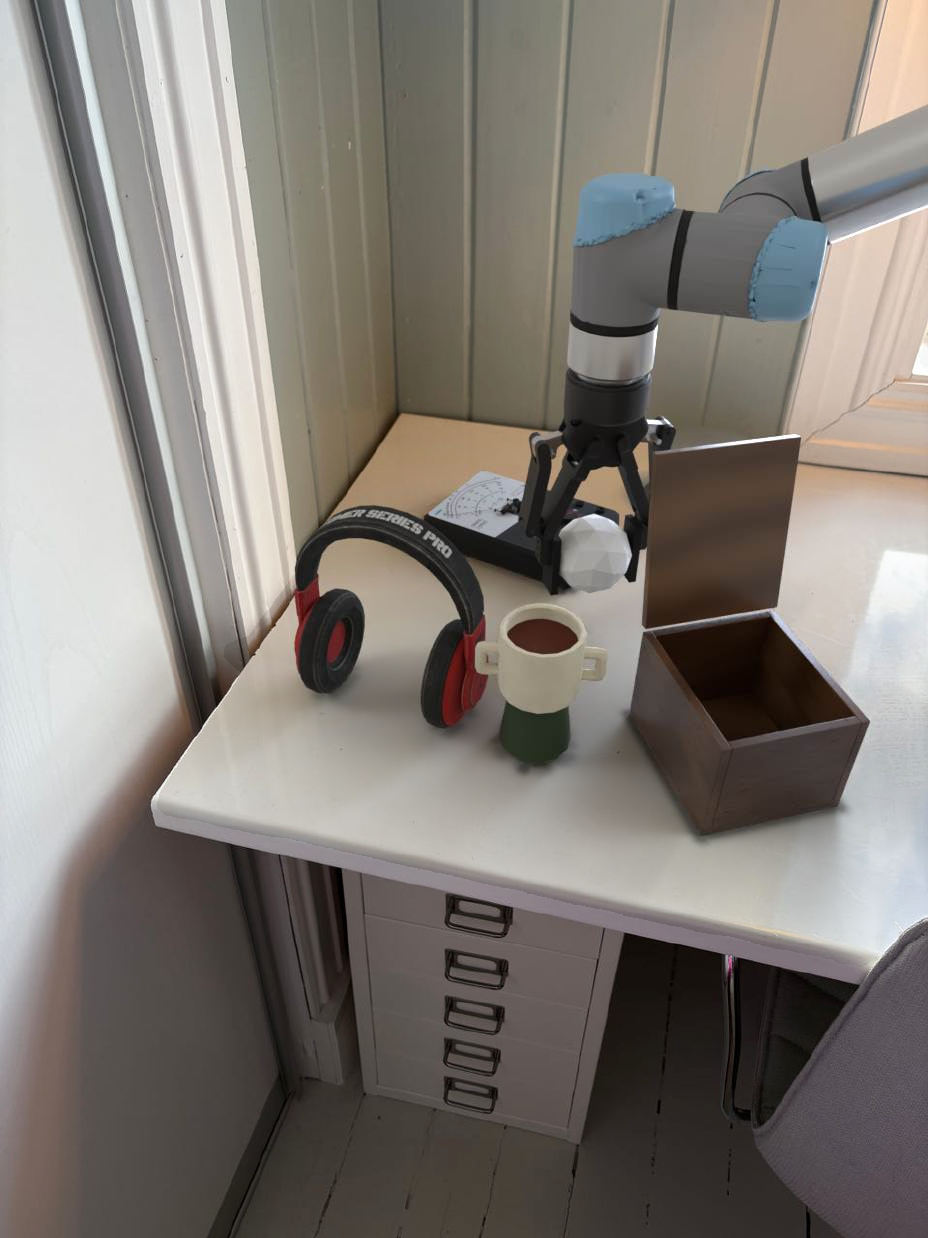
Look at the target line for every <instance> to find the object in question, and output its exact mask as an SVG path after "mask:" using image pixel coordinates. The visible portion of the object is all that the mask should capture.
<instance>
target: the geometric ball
mask: <svg viewBox="0 0 928 1238" xmlns="http://www.w3.org/2000/svg"><path fill="white" fill-rule="evenodd" d="M559 537H560V538H561V540H562V544H561V558H560V572H559V575H560V576H561V577H562V578H563V579H564V580H565V581H566V582H567V583H568V584H569V585H570V586H572V587H571V588H575V589H577V590H579V591H583V592H585V593H588V594H591V593H596V592H601V591H605V590H609V589H611V588H612V587H613V586H614V585H615V584H616V583H618V582H619V580H620V579H621V578H622V577H624V574H625V573H626V571H627V568H628V565H629V563H630V560H631V557H632V553H631V549H630V545H629V541H628V537H627V533H626V532H625V531H624V530H623V529H622V528H621V526H620V525H619V526H618V525H617V524H616V523H615V522H614V521H612V520H610V519H608V518H605V517H602V516H599V515H596V514H591V515H588V516H584V517H581V518H577V519H573V520H572V521H571V522H570V523H569V524H568V525H566V526H565V527H564V528H563V529H562V530H561V531H560V533H559Z"/></svg>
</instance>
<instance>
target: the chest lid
mask: <svg viewBox="0 0 928 1238" xmlns="http://www.w3.org/2000/svg"><path fill="white" fill-rule="evenodd" d="M801 443H802V436H800V435H798V434H796V433H795V434H787V435H778V436H771V437H762V438H755V439H753V438H752V439H746V440H738V441H730V442H729V441H728V442H721V443H714V444H706V445H697V446H690V447H681V448H680V447H679V448H673V449H672V448H671V449H670V450H664V451H656V452H653V458H652V473H651V489H650V488H649V501H650V504H649V520H648V535H647V547H646V555H645V565H644V583H643V584H644V585H643V599H642V612H641V613H642V616H641V626H642V627H643V628H644V629H645V630H648V629H655V628H662V627H667V626H673V625H679V624H685V623H692V622H697V621H703V620H709V619H715V618H721V617H727V616H734V615H739V614H745V613H746V614H747V613H751V612H757V611H763V610H769V609H776V608H778V604H779V597H780V591H781V583H782V576H783V569H784V562H785V555H786V550H787V549H786V547H787V542H788V541H787V540H788V534H789V528H790V519H791V512H792V506H793V498H794V493H795V492H794V491H795V484H796V477H797V471H798V464H799V457H800V449H801Z"/></svg>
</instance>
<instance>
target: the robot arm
mask: <svg viewBox="0 0 928 1238" xmlns="http://www.w3.org/2000/svg"><path fill="white" fill-rule="evenodd" d="M676 204H677V202H676V200H675V187H674V184H672V183H671V182H670V181H669V180H668V179H666V178H664V177H661V176H658V175H657V176H656V175H648V174H646V173H638V172H619V173H609V174H608V173H607V174H603V175H598V176H596V177H594V178H592V179H590V180H589V181H587V183H586V184H585V185H584V186H583V187H582V188H581V191H580V193H579V200H578V208H577V217H576V225H575V232H574V237H573V238H572V245H573V251H572V253H573V255H572V277H571V298H570V299H571V300H570V310H569V311H570V312H569V323H568V338H567V351H566V352H567V353H566V354H567V355H566V364H567V366H568V369H566V371H565V379H564V397H563V418H562V419H561V423H560V424H559V426H558V428H557V430H556V431H553V432H549V433H546V434H543V435H542V434H541V433H540V432H538V431H533V432H532V433H530V435H529V436H528V443H529V450H530V455H531V456H530V460H529V465H528V470H527V475H526V480H525V483H526V484H525V488H524V493H523V498H522V503H521V507H520V512H519V517H518V523H519V525H520V526H521V528H522V530H523V531H524V533H525V535H526V536H527V537H529V538H532V537H534V536H536V550H535V555H536V557H537V559H538V561H539V563H540V564H541V566H543V576H542V581H543V582H542V583H543V586H545V588H546V590H547V592H548V594H549V595H550V596H558V595H559V588H558V586H559V572H560V558H561V544H562V540H561V538H560V537H559V535H558V534H557V530H558V528H559V526H560V524H561V522H562V520H563V518H564V516H565V514H566V512H567V510H568V508H569V506H570V504H571V502H572V500H573V498H575V496H576V495H577V493H578V490H579V488H580V486H581V484H582V483H583V482H585V481H586V480H587V478H588V476H589V475H590V474H591V473H590V472H591V471H596V470H598V469H602V468H617V470H618V472H619V475H620V478H621V482H622V484H623V486H624V489H625V492H626V496H627V498H628V501H629V503H630V507H631V510H632V512H633V513H634V515H633V513H630V514H625V515H624V522H623V529H622V530H624V531H625V532H626V533H627V537H628V541H629V545H630V549H631V553H632V557H631V560H630V563H629V565H628V568H627V571H626V573H625V574H624V575H623V577H624V579H626V581H627V582H628V583H629V584H630V583H631V584H632V583H636V582H637V576H638V567H639V560H640V553H641V551H644V550H647V535H648V520H649V504H650V500H649V499H648V496H647V493H646V491H645V487H644V484H643V481H642V479H641V476H640V473H639V466H638V462H637V459H636V457H635V454H634V450H635V449H636V448H637V447H638V446H639V444H640V443H641V442H642V441H643V439H644V438H645V439H646V440H647V455H648V456H647V457H648V458H647V459H648V483H649V484H648V485H649V486H648V487H649V490H650V489H651V473H652V458H653V452H656V451H664V450H672V446H673V443H674V440H675V437H676V434H677V430H676V428H675V427H674V426H673V424H672V423H671V422H669V420H668V419H666V418H665V417H664V416H663V415H658V416H656V417H655V418H654V419H647V415H646V414H647V412H648V409H649V402H650V394H651V386H652V375H651V373H650V372H651V371H652V370H653V369H654V363H655V353H656V345H657V336H658V327H659V320H660V311H661V309H665V310H671V311H680V312H688V313H689V312H690V313H696V314H706V315H713V316H714V315H715V316H720V317H721V316H722V317H728V318H729V317H730V318H739V319H746V320H754V321H755V322H758V323H766V322H784V323H785V322H786V323H787V322H788V323H789V322H790V323H791V322H792V323H793V322H794V323H796V322H797V323H798V322H801V321H804V320H805V319H807V318H808V317H809V315H811V312H812V310H813V307H814V303H815V300H816V297H817V292H818V287H819V283H820V278H821V274H822V269H823V266H824V260H825V255H826V251H827V250H826V249H827V246H828V247H829V246H830V245H832V244H834V243H837V242H839V241H842V240H845V239H847V238H850V237H853V236H855V235H858V234H861V233H864V232H865V231H869V230H871V229H873V228H876V227H879V226H882V225H884V224H887V223H889V222H892V221H895V220H897V219H900V218H903V217H905V216H909V215H911V214H913V213H917V212H918V211H922V210H924V209H927V208H928V104H925V105H922V106H920V107H918V108H916V109H913V110H911V111H909V112H906V113H904V114H902V115H899V116H898V117H895V118H892V119H890V120H888V121H886V122H884V123H881V124H879V125H876V126H875V127H872V128H870V129H867V130H865V131H862V132H861V133H858V134H856V135H853V136H851V137H849V138H847V139H845V140H844V139H843V140H842V141H840V142H838V143H835V144H833V145H831V146H828V147H826V148H824V149H822V150H819V151H816V152H815V153H812V154H810V155H808V156H807V157H805V158H802V159H799V160H797V161H794V162H792V163H789V164H787V165H785V166H782V167H779V168H777V169H776V168H763V169H760V170H759V169H758V170H756V171H753V172H751V173H749V174H747V175H745V176H744V177H743V178H741V179H740V180H739V181H737V182H736V183H735V185H734V186H732V188H731V189H729V190H728V191H727V193H726V194H725V195H724V198H723V199H722V201H721V204H720V206H719V208H718V211H717V212H708V211H695V210H687V209H686V208H677V207H676ZM560 446H563V447H565V448H566V451H565V454H564V456H563V457H562V461H561V468H560V469H559V472H558V474H557V477H556V479H555V480H554V482H553V484H552V486H551V489H550V493H549V495H548V497H547V499H546V501H545V496H546V492H547V490H548V487H549V484H550V483H549V482H550V478H551V473H552V467H553V461H552V460H555V459H556V458H557V454H558V453H557V452H558V449H559V447H560ZM544 501H545V503H544Z"/></svg>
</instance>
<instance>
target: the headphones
mask: <svg viewBox="0 0 928 1238" xmlns="http://www.w3.org/2000/svg"><path fill="white" fill-rule="evenodd" d="M348 539H361V540H368V541H375V542H378V543H381V544H385V545H387V546H390V547H392V548H394V549H395V550H399V551H401V552H402V553H404V554H406V555H407V556H409V557H411V558H412V559H414V560H415V561H416V562H418V563H419V564H420V565H422V566H423V567H424V568H426V569H427V570H428V571H429V572H430V573H431V574H432V575H433V576H434V578H436V579H437V581H439V583H440V584H441V585H442V586H443V588H444V589H445V590H446V591H447V593H448V595H449V596H450V598H451V600H452V602H453V604H454V606H455V608H456V611H457V614H458V616H459V618H455V619H453V620H451V621H449V622H448V623H446V624H445V625H444V626H443V627H442V629H441V630H440V631H439V633H438V635H437V636H436V638H435V640H434V642H433V644H432V646H431V649H430V651H429V655H428V657H427V660H426V663H425V667H424V670H423V675H422V681H421V688H420V700H419V701H420V702H419V703H420V711H421V713H422V717H423V718H424V720H425V722H426V723H427V724H429V725H430V726H432V727H435V728H436V729H443V730H444V729H447V728H451V727H452V726H453V725H455V724H457V723H459V722H460V721H461V720H462V719H463V718H464V717H465V715H466V714H467V712H468V711H470V710H473V709H474V708H475V707H476V706H477V704H478V703H479V702H480V701H481V699H482V697H483V694H484V693H485V690H486V687H487V683H488V680H489V675H486V674H480V673H478V672H477V671H476V668H475V647H476V645H477V643H479V642H482V641H486V634H487V633H486V632H487V631H486V629H487V627H486V626H487V622H486V614H484V612H485V602H484V601H485V600H484V593H483V590H482V588H481V584H480V582H479V579H478V577H477V576H476V573H475V571H474V569H473V568H472V566H471V564H470V563H469V562H468V560H467V558H466V556H464V554H462V553H461V552H460V551H459V550H458V549H457V548H456V546H455V545H454V544H453V543H452V542H451V541H450V540H449V539H448V538H447V537H446V536H444V535H443V534H442V533H441V532H440V531H439V530H437V529H436V528H434V527H433V526H431V525H430V524H429V523H427V522H426V521H424V519H422V518H420V517H418V516H416V515H414V514H412V513H409V512H408V511H403V510H399V509H397V508H393V507H389V506H382V505H375V504H370V505H357V506H354V507H350V508H346V509H343V510H341V511H339V512H337V513H335V514H333V515H332V516H330V517H329V518H328V519H327V520H326V521H325V522H324V523H323V524H321V526H320V527H318V528H317V530H316V531H314V533H312V535H310V537H309V538H307V540H306V541H305V542H304V544H303V545H302V546H301V547H300V550H299V552H298V554H297V557H296V560H295V565H294V580H295V587H296V588H295V589H294V603H295V611H296V616H297V622H298V625H297V629H296V632H295V636H294V644H293V645H294V647H293V648H294V649H293V650H294V654H295V665H296V669H297V672H298V675H299V677H300V680H301V681H302V683H303V685H304V686H305V688H307V689H308V690H310V691H313V692H315V693H317V694H330V693H333V692H334V691H336V690H338V689H340V688H341V687H342V686H343V684H345V682H346V681H347V680H348V678H349V677H350V676H351V674H352V672H353V670H354V668H355V666H356V664H357V662H358V658H359V656H360V653H361V650H362V646H363V642H364V637H365V636H364V635H365V627H366V614H365V609H364V605H363V603H362V601H361V599H360V597H359V596H358V595H357V594H356V593H354V592H353V591H351V590H349V589H344V588H337V587H336V588H333V589H330V590H328V591H326V592H325V593H324V594H322V595H321V594H320V584H319V583H320V582H319V581H320V577H319V576H320V574H319V568H320V563H321V559H322V556H323V554H324V552H325V551H326V550H327V549H328V547H329V546H330V545H332V544H333V543H335V542H337V541H342V540H348ZM487 663H490V662H489V653H487Z"/></svg>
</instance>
